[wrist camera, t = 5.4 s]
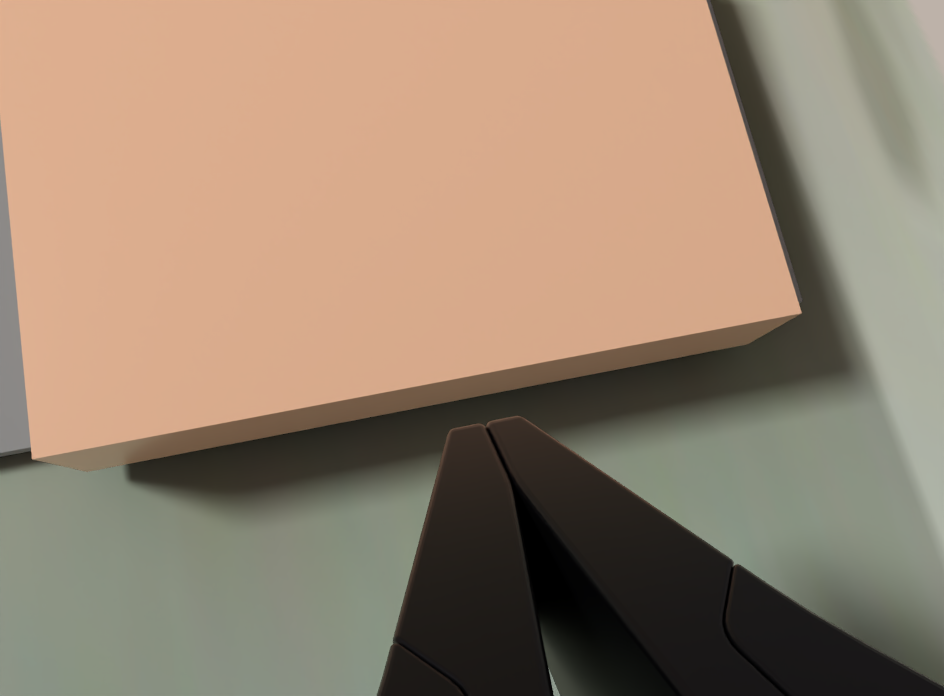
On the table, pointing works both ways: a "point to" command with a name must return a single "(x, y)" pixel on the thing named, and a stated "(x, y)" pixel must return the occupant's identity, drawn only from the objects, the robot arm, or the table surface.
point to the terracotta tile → (364, 209)
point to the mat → (3, 383)
